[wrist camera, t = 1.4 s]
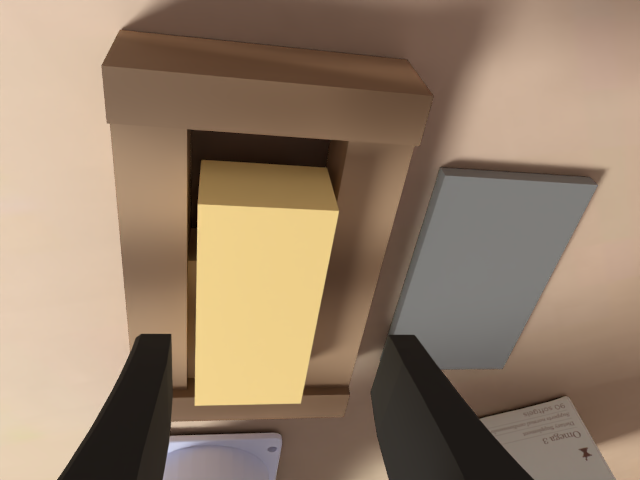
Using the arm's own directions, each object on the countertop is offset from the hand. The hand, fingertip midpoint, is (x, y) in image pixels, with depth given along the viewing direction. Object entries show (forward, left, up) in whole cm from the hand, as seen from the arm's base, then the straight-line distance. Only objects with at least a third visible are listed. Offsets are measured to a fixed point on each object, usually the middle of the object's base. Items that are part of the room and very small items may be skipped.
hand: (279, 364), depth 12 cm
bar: (-4, 0, -7) cm, 8 cm away
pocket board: (-3, 0, -9) cm, 10 cm away
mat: (-5, -10, -9) cm, 15 cm away
